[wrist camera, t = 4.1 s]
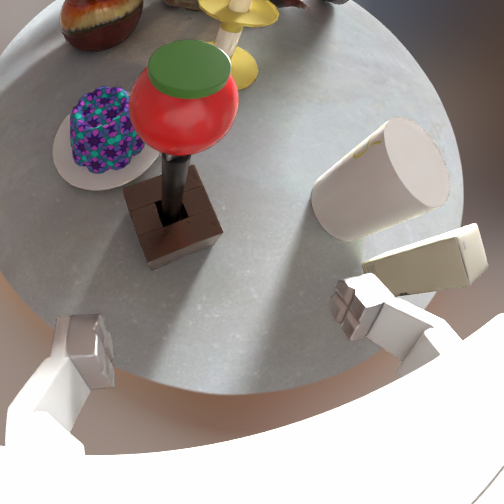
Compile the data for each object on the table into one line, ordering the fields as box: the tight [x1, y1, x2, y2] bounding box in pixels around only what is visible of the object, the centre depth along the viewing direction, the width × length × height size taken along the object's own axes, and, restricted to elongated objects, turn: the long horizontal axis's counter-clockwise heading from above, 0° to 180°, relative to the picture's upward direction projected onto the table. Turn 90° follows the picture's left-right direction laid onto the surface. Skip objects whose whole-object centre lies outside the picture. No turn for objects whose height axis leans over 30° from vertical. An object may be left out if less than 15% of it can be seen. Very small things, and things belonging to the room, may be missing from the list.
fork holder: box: [122, 165, 223, 270], centre depth 23 cm, size 6×6×4 cm
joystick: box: [129, 40, 239, 227], centre depth 16 cm, size 4×4×19 cm
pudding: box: [52, 86, 160, 191], centre depth 22 cm, size 12×12×5 cm
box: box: [362, 223, 488, 297], centre depth 24 cm, size 5×4×13 cm
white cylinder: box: [311, 117, 450, 241], centre depth 25 cm, size 8×8×12 cm
